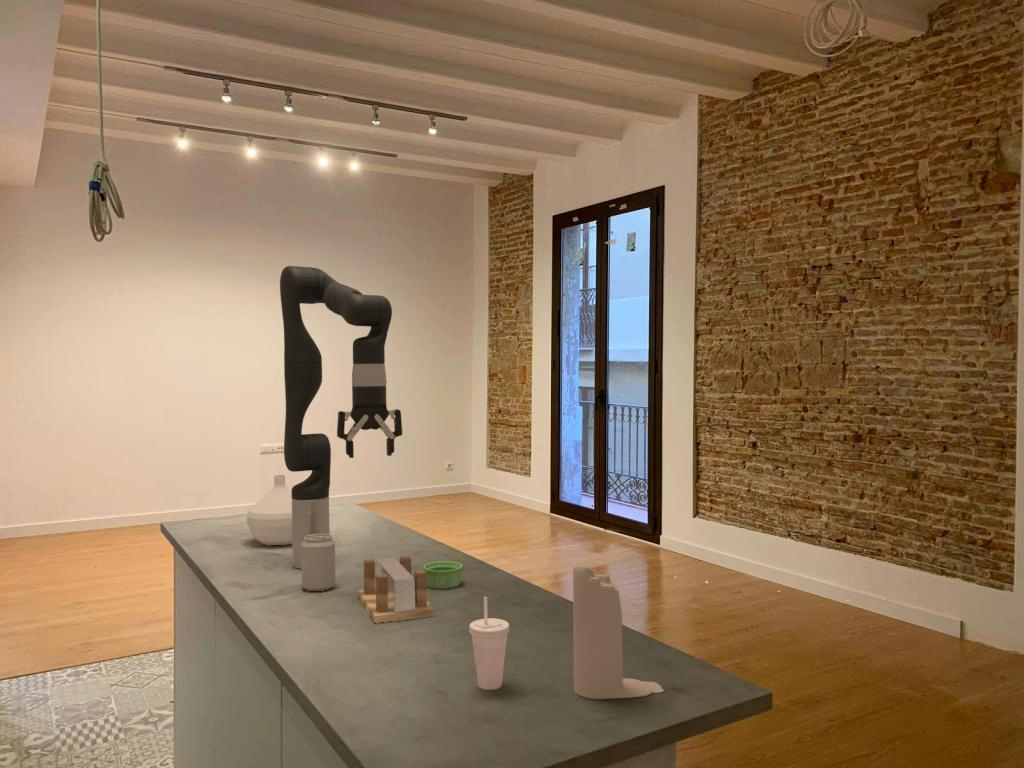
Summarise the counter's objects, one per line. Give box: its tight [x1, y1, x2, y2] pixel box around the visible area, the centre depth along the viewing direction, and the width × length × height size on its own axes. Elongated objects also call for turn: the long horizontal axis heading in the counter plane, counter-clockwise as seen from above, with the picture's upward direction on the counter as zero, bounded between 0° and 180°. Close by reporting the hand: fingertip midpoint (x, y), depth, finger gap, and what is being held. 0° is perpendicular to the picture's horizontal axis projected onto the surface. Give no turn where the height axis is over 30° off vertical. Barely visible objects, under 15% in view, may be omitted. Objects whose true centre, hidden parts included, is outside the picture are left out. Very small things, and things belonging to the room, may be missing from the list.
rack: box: [357, 555, 435, 624], centre depth 167 cm, size 19×12×8 cm, turn 21°
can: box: [301, 534, 337, 592], centre depth 181 cm, size 8×8×12 cm
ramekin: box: [422, 560, 463, 590], centre depth 183 cm, size 9×9×4 cm
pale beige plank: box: [375, 557, 415, 613], centre depth 167 cm, size 18×4×6 cm, turn 21°
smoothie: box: [469, 596, 510, 691], centre depth 126 cm, size 6×6×14 cm
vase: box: [246, 474, 292, 546], centre depth 228 cm, size 18×18×19 cm
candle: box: [572, 563, 665, 700], centre depth 124 cm, size 7×14×20 cm, turn 95°
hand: (370, 456), depth 178 cm, fingers open, 8 cm apart
